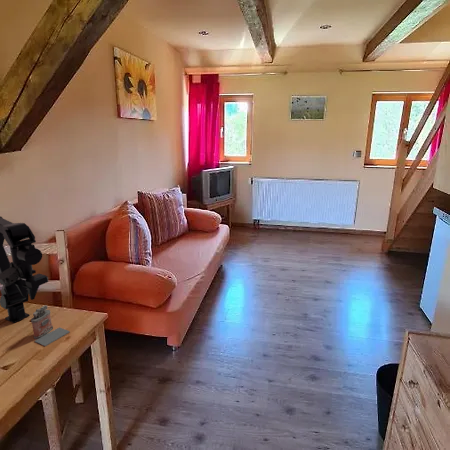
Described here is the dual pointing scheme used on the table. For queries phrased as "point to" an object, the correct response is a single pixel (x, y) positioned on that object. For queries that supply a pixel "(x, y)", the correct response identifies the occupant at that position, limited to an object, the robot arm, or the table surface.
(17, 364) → the table surface
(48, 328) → the lighter
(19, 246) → the robot arm
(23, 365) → the table surface
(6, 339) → the table surface
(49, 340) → the pad
